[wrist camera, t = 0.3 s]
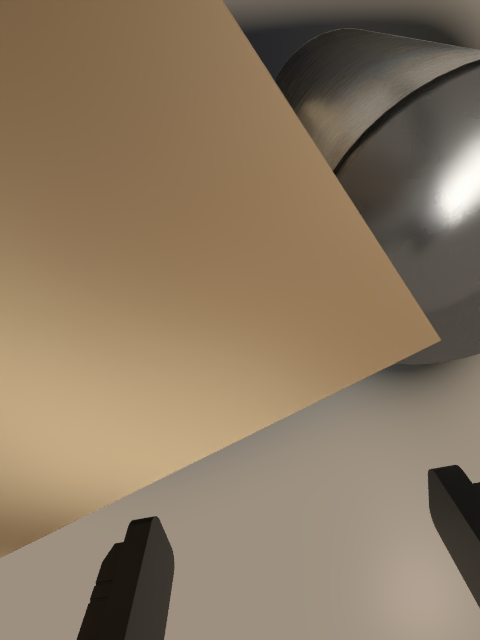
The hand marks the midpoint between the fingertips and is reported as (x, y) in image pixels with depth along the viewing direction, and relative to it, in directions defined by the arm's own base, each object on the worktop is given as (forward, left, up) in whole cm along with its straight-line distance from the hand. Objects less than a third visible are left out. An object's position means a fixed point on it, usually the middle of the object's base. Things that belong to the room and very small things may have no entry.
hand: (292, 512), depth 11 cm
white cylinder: (+3, +8, -30) cm, 31 cm away
